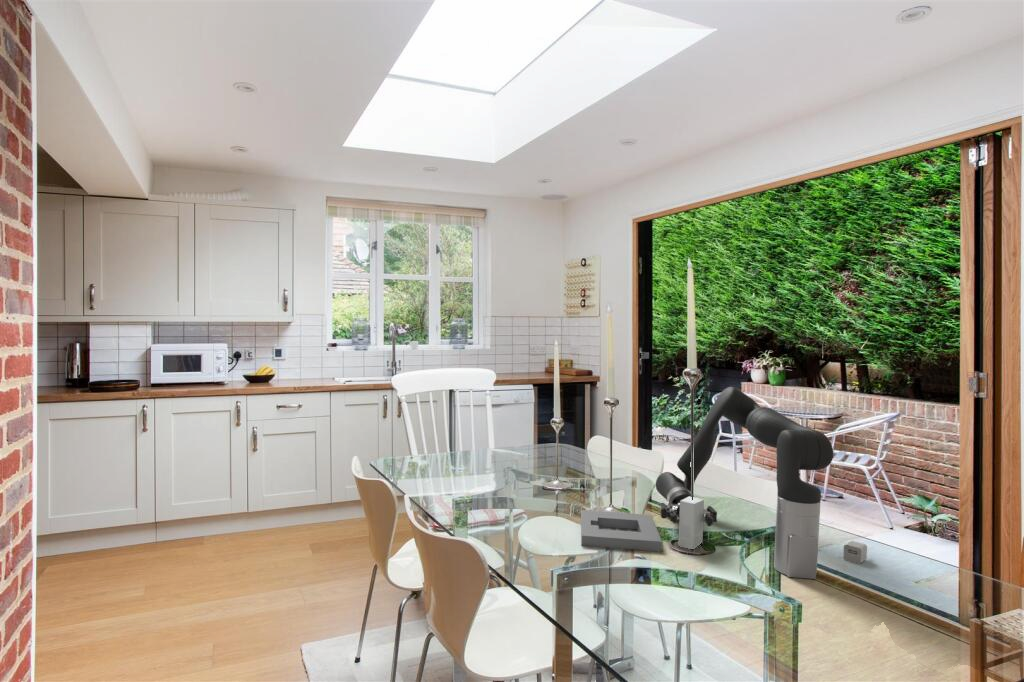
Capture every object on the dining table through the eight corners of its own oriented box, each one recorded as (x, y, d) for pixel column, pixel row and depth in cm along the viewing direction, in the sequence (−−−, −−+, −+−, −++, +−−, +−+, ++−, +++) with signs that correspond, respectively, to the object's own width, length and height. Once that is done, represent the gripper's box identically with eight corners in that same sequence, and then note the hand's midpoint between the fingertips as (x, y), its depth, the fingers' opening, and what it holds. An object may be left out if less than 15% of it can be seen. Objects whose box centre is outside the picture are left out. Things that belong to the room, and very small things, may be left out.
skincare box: (687, 540, 163) (689, 495, 163) (702, 544, 160) (704, 499, 160) (677, 546, 158) (679, 500, 158) (693, 550, 156) (695, 503, 155)
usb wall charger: (843, 559, 154) (844, 544, 154) (852, 553, 159) (853, 538, 158) (860, 564, 151) (861, 548, 151) (869, 558, 156) (870, 542, 156)
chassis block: (661, 551, 154) (662, 541, 154) (581, 545, 156) (581, 535, 156) (651, 523, 176) (651, 514, 176) (580, 518, 178) (581, 509, 178)
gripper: (656, 488, 174) (664, 504, 158) (708, 491, 172) (722, 508, 156) (655, 514, 174) (663, 533, 158) (707, 518, 173) (720, 537, 157)
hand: (692, 520), depth 157 cm, fingers open, 8 cm apart
